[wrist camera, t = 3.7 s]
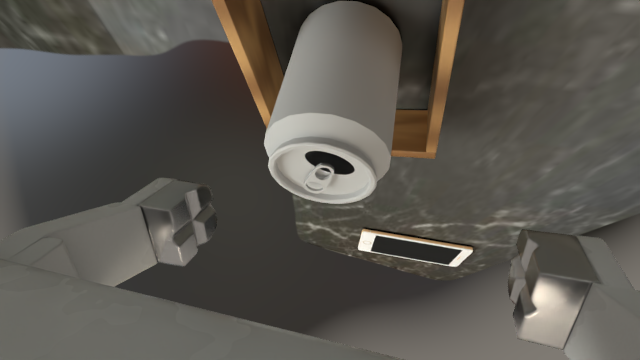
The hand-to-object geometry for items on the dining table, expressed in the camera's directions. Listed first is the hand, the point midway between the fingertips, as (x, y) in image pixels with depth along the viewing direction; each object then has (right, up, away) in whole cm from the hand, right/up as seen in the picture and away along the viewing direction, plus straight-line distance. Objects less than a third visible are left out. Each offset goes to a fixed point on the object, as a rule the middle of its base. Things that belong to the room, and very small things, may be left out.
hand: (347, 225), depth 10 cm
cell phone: (+14, -9, +47) cm, 50 cm away
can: (+2, +11, +17) cm, 21 cm away
